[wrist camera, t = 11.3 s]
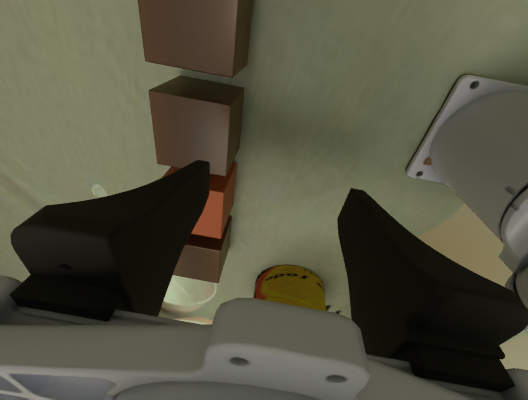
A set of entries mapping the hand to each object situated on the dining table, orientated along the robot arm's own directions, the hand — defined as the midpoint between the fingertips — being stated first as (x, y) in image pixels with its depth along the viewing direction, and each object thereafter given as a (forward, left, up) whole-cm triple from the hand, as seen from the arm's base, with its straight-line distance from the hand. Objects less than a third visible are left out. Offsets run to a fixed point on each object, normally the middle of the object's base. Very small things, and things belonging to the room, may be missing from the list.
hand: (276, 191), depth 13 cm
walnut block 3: (+6, +13, -9) cm, 17 cm away
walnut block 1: (+6, -6, -9) cm, 13 cm away
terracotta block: (+6, +7, -9) cm, 13 cm away
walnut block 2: (+6, 0, -9) cm, 11 cm away
